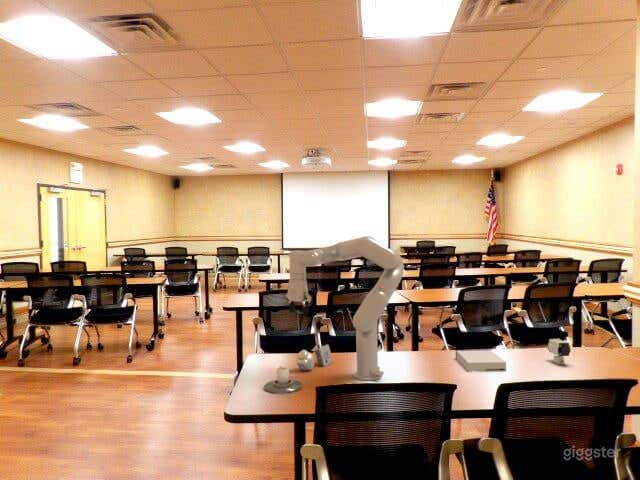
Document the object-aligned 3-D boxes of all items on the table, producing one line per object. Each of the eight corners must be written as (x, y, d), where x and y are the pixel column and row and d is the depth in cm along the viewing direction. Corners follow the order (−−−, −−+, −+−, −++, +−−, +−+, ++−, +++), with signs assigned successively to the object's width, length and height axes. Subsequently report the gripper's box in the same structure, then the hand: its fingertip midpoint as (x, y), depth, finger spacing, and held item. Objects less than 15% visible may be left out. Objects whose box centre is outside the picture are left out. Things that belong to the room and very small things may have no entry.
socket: (309, 387, 202) (309, 381, 202) (279, 396, 192) (279, 390, 192) (286, 379, 214) (286, 373, 214) (256, 387, 203) (256, 381, 203)
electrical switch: (324, 367, 231) (322, 348, 232) (315, 367, 234) (313, 348, 234) (333, 362, 240) (331, 344, 240) (324, 362, 242) (322, 344, 242)
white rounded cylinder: (282, 387, 199) (281, 370, 199) (275, 385, 203) (274, 367, 203) (291, 384, 203) (291, 367, 203) (284, 382, 207) (283, 365, 206)
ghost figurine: (293, 369, 229) (292, 348, 229) (311, 366, 233) (310, 346, 233) (299, 374, 221) (299, 353, 221) (318, 371, 225) (318, 350, 225)
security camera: (556, 359, 235) (555, 335, 234) (571, 366, 223) (570, 341, 223) (545, 360, 234) (545, 336, 234) (560, 367, 222) (559, 341, 222)
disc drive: (490, 359, 241) (490, 349, 241) (506, 372, 218) (506, 361, 218) (455, 359, 241) (455, 349, 241) (468, 372, 219) (467, 362, 219)
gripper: (280, 276, 225) (281, 312, 226) (303, 278, 213) (304, 316, 213) (292, 275, 230) (293, 310, 231) (316, 277, 218) (317, 314, 218)
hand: (298, 313), depth 222 cm, fingers open, 9 cm apart
